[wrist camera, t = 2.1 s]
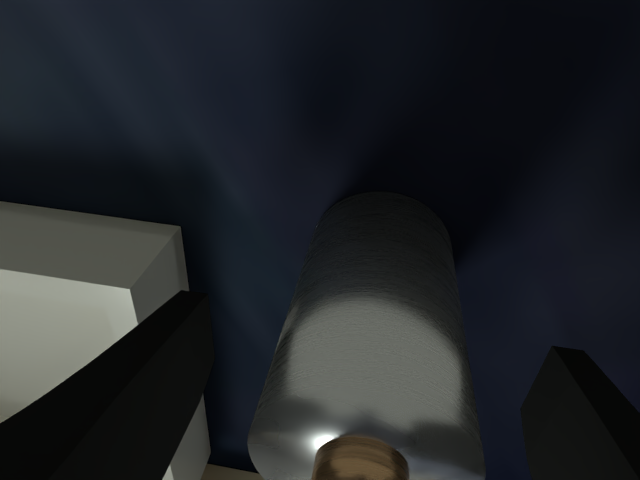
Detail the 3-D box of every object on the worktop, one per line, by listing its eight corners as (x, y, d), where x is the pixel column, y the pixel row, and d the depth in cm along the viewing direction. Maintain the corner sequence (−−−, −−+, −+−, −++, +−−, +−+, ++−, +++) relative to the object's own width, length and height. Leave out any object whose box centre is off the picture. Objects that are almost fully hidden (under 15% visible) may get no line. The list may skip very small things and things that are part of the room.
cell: (466, 201, 12) (527, 454, 6) (435, 315, 14) (457, 579, 8) (315, 182, 12) (230, 400, 6) (308, 295, 14) (241, 535, 8)
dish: (180, 226, 13) (129, 289, 11) (210, 452, 20) (183, 523, 18) (-169, 177, 15) (-286, 224, 12) (-32, 406, 21) (-89, 466, 19)
